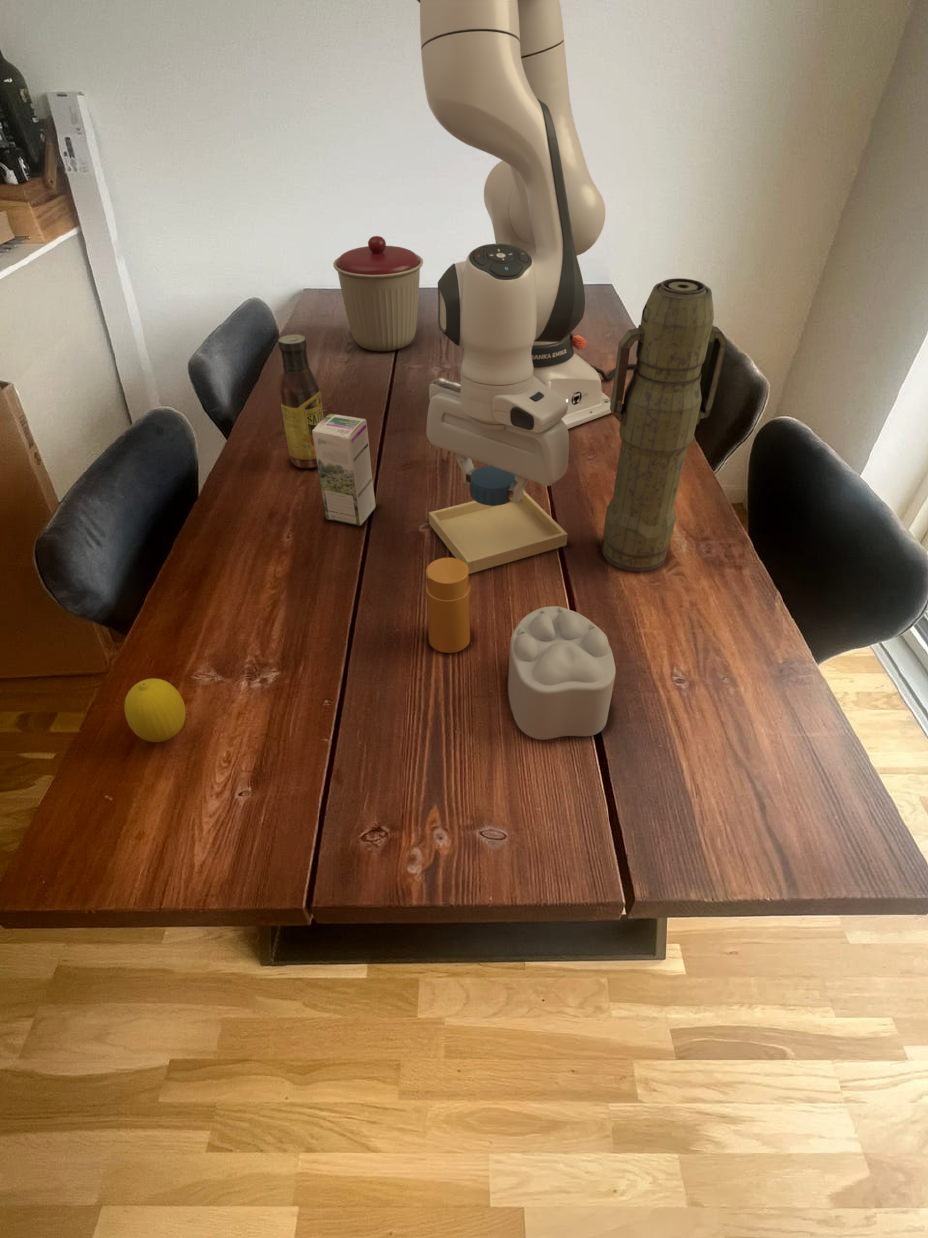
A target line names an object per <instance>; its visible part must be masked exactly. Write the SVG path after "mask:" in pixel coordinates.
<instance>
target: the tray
mask: <svg viewBox="0 0 928 1238" xmlns="http://www.w3.org/2000/svg"><path fill="white" fill-rule="evenodd" d="M428 524H429V525H430V527H431V528H432V530H433V531H434V532H435V533H436V535H437V536H438V537H439V538H440V540H441V541H442V543H443V544H444V545H445V547H447V549H448V550H449V552H451V554H452V555H453V558H456V559H459V560H461V561H463V562H464V563H466V564H467V566H468V568H469V575H470V574H474V573H476V572H481V571H484V570H487V569H490V568H491V569H492V568H494V567H497V566H501V565H505V564H508V563H511V562H515V561H518V560H522V559H524V558H525V559H526V558H529V557H532V556H535V555H538V554H542V553H545V552H549V551H553V550H555V549H559V548H563V547H565V546H567V543H568V533H567V531H565V530H564V529H563V528H562V527H561V525H560V524H558V522H557V521H555V520H554V519H553V518H552V517H551V516H550V515H549V514H548V513H547V512H546V510H545V509H543V508H542V507H541V506H540V505H539V504H538V502H536V501H535V500H534V499H533V497H531V496H530V495H529V494H528V493H527V492H526V491H525V490H523V497H522V499H521V500H520V501H519V502H514V501H512V500H511V501H510V502H508V503H506V504H503V505H498V506H489V505H483V504H480V503H478V502H476V501H475V500H471V501H467V502H464V503H461V504H457V505H452V506H449V507H445V508H441V509H436V510H433V511H429V512H428Z"/></svg>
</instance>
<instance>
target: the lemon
mask: <svg viewBox="0 0 928 1238" xmlns="http://www.w3.org/2000/svg"><path fill="white" fill-rule="evenodd" d="M123 709H124V715H125V719H126V721H127V724H128V726H129V728H130V729H131V731H132V732H133V733H134V734H135V736H137V737H139V738H141V739H142V740H144V741H147V742H150V743H161V742H166V741H168V740H170V739H172V738H174V737H175V736H176V735H178V733H179V732H180V731H181V730H182V728H183V726H184V725H185V722H186V721H185V720H186V716H187V713H186V712H187V711H186V706H185V702H184V699H183V697H182V695H181V694H180V692H179V691H178V689H177V688H176V687H175V686H174V685H172V683H170V682H168V681H167V680H164V679H161V678H147V679H142V680H140V681H139V682H137V683H135V684H134V685H133V686H132V687H131V688H130V689H129V691H128V692H127V694H126V696H125V698H124V707H123Z"/></svg>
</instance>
